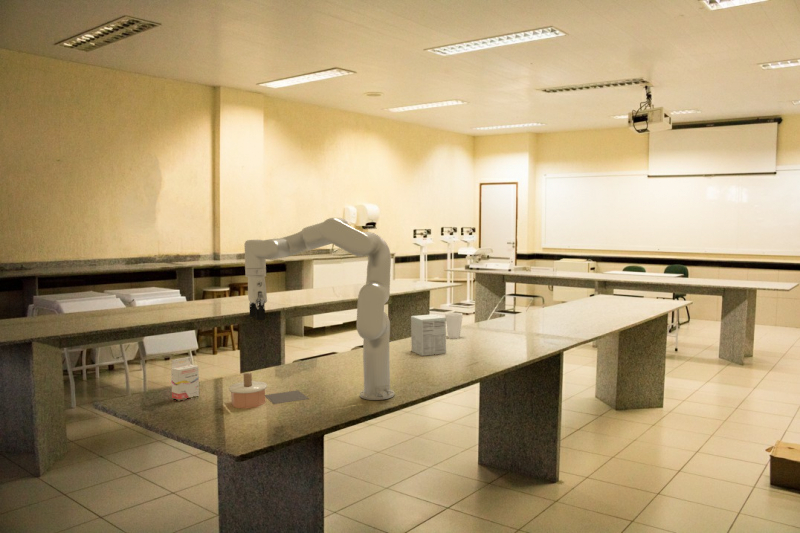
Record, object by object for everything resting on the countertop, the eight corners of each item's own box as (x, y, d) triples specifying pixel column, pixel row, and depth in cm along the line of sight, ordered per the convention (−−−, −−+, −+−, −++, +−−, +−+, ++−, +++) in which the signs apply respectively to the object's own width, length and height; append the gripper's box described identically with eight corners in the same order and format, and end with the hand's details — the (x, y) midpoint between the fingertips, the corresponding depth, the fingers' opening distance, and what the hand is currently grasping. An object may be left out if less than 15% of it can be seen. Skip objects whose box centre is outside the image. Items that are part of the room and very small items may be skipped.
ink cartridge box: (179, 402, 225) (177, 361, 223) (171, 399, 228) (169, 360, 227) (200, 396, 231) (198, 357, 230) (192, 394, 234) (190, 355, 233)
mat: (309, 400, 223) (309, 398, 223) (273, 405, 218) (273, 404, 217) (297, 391, 235) (297, 390, 235) (263, 396, 229) (263, 395, 229)
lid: (271, 389, 216) (270, 375, 215) (233, 395, 210) (232, 380, 209) (261, 381, 227) (261, 367, 227) (225, 386, 221) (224, 372, 221)
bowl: (267, 406, 217) (267, 389, 216) (236, 411, 212) (235, 394, 211) (259, 399, 226) (259, 382, 226) (229, 403, 221) (229, 386, 221)
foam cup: (443, 338, 336) (443, 314, 335) (447, 335, 345) (447, 312, 344) (461, 339, 333) (460, 315, 332) (464, 336, 342) (464, 312, 341)
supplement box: (446, 353, 298) (446, 317, 297) (421, 356, 293) (421, 319, 292) (435, 348, 310) (434, 313, 309) (410, 351, 306) (410, 315, 304)
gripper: (271, 273, 227) (273, 320, 228) (259, 270, 242) (261, 314, 243) (251, 274, 223) (253, 321, 225) (240, 271, 239) (242, 316, 240)
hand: (257, 317), depth 234 cm, fingers open, 9 cm apart
